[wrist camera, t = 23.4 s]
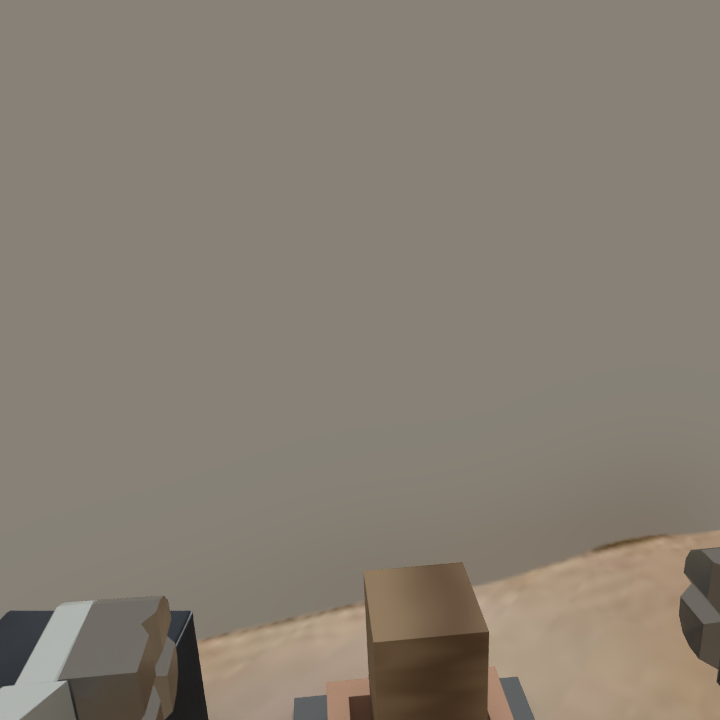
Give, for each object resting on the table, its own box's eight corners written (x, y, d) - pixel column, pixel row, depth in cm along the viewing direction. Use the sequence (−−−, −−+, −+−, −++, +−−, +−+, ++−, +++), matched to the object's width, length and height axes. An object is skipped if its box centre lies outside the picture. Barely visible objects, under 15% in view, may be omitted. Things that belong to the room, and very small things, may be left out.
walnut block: (383, 846, 32) (373, 642, 28) (372, 755, 36) (363, 570, 33) (485, 834, 32) (488, 631, 28) (461, 746, 37) (462, 562, 33)
